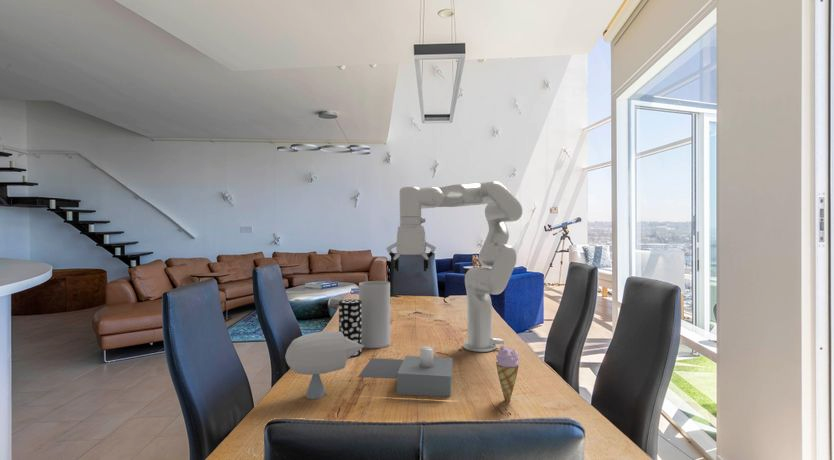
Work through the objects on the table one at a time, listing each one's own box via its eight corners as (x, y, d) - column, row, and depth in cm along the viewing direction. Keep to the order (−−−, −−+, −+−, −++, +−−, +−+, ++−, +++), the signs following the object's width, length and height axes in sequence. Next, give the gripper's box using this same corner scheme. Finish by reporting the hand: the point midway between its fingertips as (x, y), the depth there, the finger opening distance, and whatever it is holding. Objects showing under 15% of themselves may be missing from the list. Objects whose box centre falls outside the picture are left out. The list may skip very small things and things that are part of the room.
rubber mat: (421, 361, 141) (421, 360, 141) (414, 380, 123) (414, 379, 123) (371, 359, 143) (371, 358, 143) (357, 377, 126) (357, 376, 126)
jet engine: (353, 406, 105) (352, 340, 105) (279, 404, 107) (279, 338, 107) (365, 384, 120) (365, 326, 120) (300, 382, 122) (300, 325, 122)
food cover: (452, 377, 125) (452, 342, 125) (450, 397, 111) (451, 358, 110) (405, 374, 127) (405, 340, 127) (397, 394, 112) (397, 355, 112)
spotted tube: (357, 359, 144) (356, 303, 144) (335, 357, 145) (335, 303, 145) (364, 352, 152) (364, 299, 152) (344, 351, 153) (343, 299, 153)
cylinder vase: (396, 343, 164) (396, 282, 164) (377, 351, 153) (377, 286, 153) (372, 339, 170) (372, 280, 170) (352, 346, 160) (352, 283, 160)
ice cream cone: (492, 395, 112) (492, 342, 112) (514, 394, 113) (514, 341, 113) (499, 405, 106) (499, 349, 106) (522, 404, 106) (522, 348, 106)
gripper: (435, 221, 143) (436, 269, 143) (387, 222, 144) (388, 269, 145) (434, 221, 136) (435, 272, 136) (384, 222, 137) (385, 272, 137)
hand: (411, 270), depth 140 cm, fingers open, 9 cm apart
